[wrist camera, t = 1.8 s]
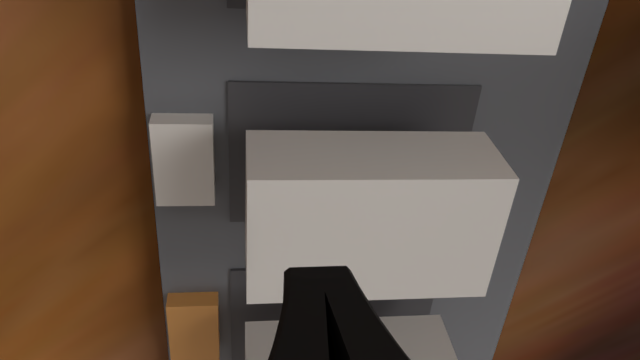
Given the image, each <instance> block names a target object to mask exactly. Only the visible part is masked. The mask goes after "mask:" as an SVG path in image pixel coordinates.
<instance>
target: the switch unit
mask: <svg viewBox="0 0 640 360" xmlns="http://www.w3.org/2000/svg"><path fill="white" fill-rule="evenodd" d="M608 1H609V0H572V1H571V5H570V8H569V12H568V15H567V19H566V22H565V25H564V29H563V32H562V36H561V39H560V42H559V46H558V49H557V53H556V55H517V54H478V53H439V52H399V51H360V50H320V49H281V48H248V40H247V17H246V0H135V9H136V19H137V30H138V40H139V51H140V61H141V71H142V82H143V92H144V103H145V113H146V124H147V134H148V145H149V155H150V166H151V176H152V187H153V197H154V208H155V218H156V229H157V239H158V250H159V260H160V271H161V281H162V292H163V302H164V313H165V323H166V333H167V344H168V354H169V360H245V322H249V321H277V320H279V319H280V315H281V309H282V304H283V303H268V304H247V303H246V252H245V210H246V130H306V131H449V132H485V133H486V134H487V136H488V137H489V138H490V140H491V141H492V142H493V144H494V145H495V147H496V148H497V149H498V151H499V152H500V153H501V155H502V156H503V157H504V159H505V160H506V162H507V163H508V164H509V166H510V167H511V168H512V170H513V171H514V172H515V174H516V175H517V177H518V178H519V183H518V186H517V190H516V193H515V196H514V200H513V203H512V207H511V210H510V214H509V217H508V220H507V224H506V227H505V231H504V234H503V238H502V241H501V244H500V248H499V251H498V255H497V258H496V261H495V265H494V268H493V272H492V275H491V279H490V282H489V285H488V289H487V292H486V296H485V297H456V298H424V299H393V300H368V301H369V302H370V304H371V306H372V307H373V309H374V310H375V312H376V313H377V315H378V316H379V317H389V316H417V315H440V316H441V318H442V321H443V323H444V326H445V328H446V331H447V333H448V336H449V339H450V341H451V344H452V346H453V349H454V351H455V354H456V356H457V359H458V360H492V358H493V355H494V352H495V349H496V346H497V343H498V340H499V337H500V334H501V331H502V328H503V324H504V321H505V318H506V315H507V312H508V309H509V306H510V303H511V300H512V297H513V294H514V291H515V288H516V284H517V281H518V278H519V275H520V272H521V269H522V266H523V263H524V260H525V257H526V254H527V251H528V248H529V244H530V241H531V238H532V235H533V232H534V229H535V226H536V223H537V220H538V217H539V214H540V211H541V208H542V204H543V201H544V198H545V195H546V192H547V189H548V186H549V183H550V180H551V177H552V174H553V171H554V168H555V164H556V161H557V158H558V155H559V152H560V149H561V146H562V143H563V140H564V137H565V134H566V131H567V128H568V124H569V121H570V118H571V115H572V112H573V109H574V106H575V103H576V100H577V97H578V94H579V91H580V88H581V85H582V81H583V78H584V75H585V72H586V69H587V66H588V63H589V60H590V57H591V54H592V51H593V48H594V45H595V41H596V38H597V35H598V32H599V29H600V26H601V23H602V20H603V17H604V14H605V11H606V8H607V5H608Z"/></svg>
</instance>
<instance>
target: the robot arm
mask: <svg viewBox="0 0 640 360" xmlns="http://www.w3.org/2000/svg"><path fill="white" fill-rule="evenodd" d="M268 360H410V358H409V357H408V356H407V355H406V353H405V352H404V351H403V350H402V348H401V347H400V346H399V344H398V343H397V342H396V340H395V339H394V337H393V336H392V335H391V333H390V332H389V330H388V329H387V328H386V326H385V325H384V324H383V322H382V321H381V319H380V318H379V316H378V315H377V313H376V312H375V310H374V309H373V307H372V306H371V304H370V302H369V301H368V299H367V298H366V296H365V294H364V293H363V291H362V290H361V288H360V286H359V284H358V283H357V281H356V279H355V277H354V275H353V274H352V272H351V270H350V269H349V268H348V267H347V266H318V267H289V268H288V269H287V270H285V271H284V284H283V304H282V309H281V315H280V319H279V323H278V327H277V331H276V334H275V338H274V342H273V345H272V349H271V352H270V355H269V358H268Z"/></svg>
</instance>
